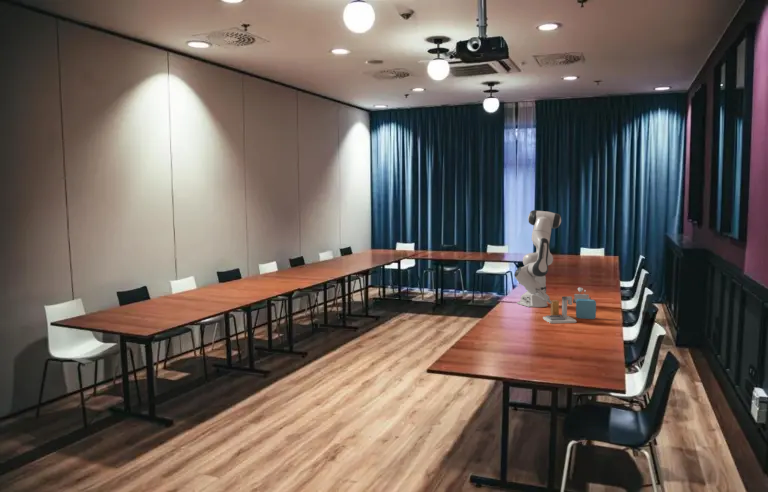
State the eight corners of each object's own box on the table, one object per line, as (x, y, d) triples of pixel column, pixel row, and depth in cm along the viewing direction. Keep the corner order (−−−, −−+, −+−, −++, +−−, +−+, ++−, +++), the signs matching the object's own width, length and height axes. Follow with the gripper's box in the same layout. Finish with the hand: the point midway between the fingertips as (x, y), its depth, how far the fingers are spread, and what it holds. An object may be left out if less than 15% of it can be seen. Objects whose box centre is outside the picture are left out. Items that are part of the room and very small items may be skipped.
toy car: (574, 286, 427) (591, 287, 423) (574, 299, 428) (590, 300, 424) (573, 290, 411) (589, 291, 406) (572, 303, 412) (589, 304, 407)
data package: (595, 317, 363) (595, 299, 362) (595, 319, 359) (596, 300, 358) (575, 316, 367) (576, 298, 366) (576, 318, 363) (576, 300, 361)
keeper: (549, 323, 349) (550, 299, 348) (542, 318, 362) (543, 295, 361) (576, 322, 350) (576, 298, 349) (568, 318, 363) (568, 294, 362)
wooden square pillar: (552, 316, 370) (552, 301, 369) (550, 314, 374) (550, 300, 373) (558, 316, 370) (558, 301, 369) (556, 314, 374) (556, 300, 373)
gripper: (542, 286, 359) (557, 301, 360) (532, 281, 379) (546, 295, 380) (535, 293, 359) (550, 308, 360) (526, 288, 379) (540, 302, 381)
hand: (548, 301), depth 371 cm, fingers open, 8 cm apart
